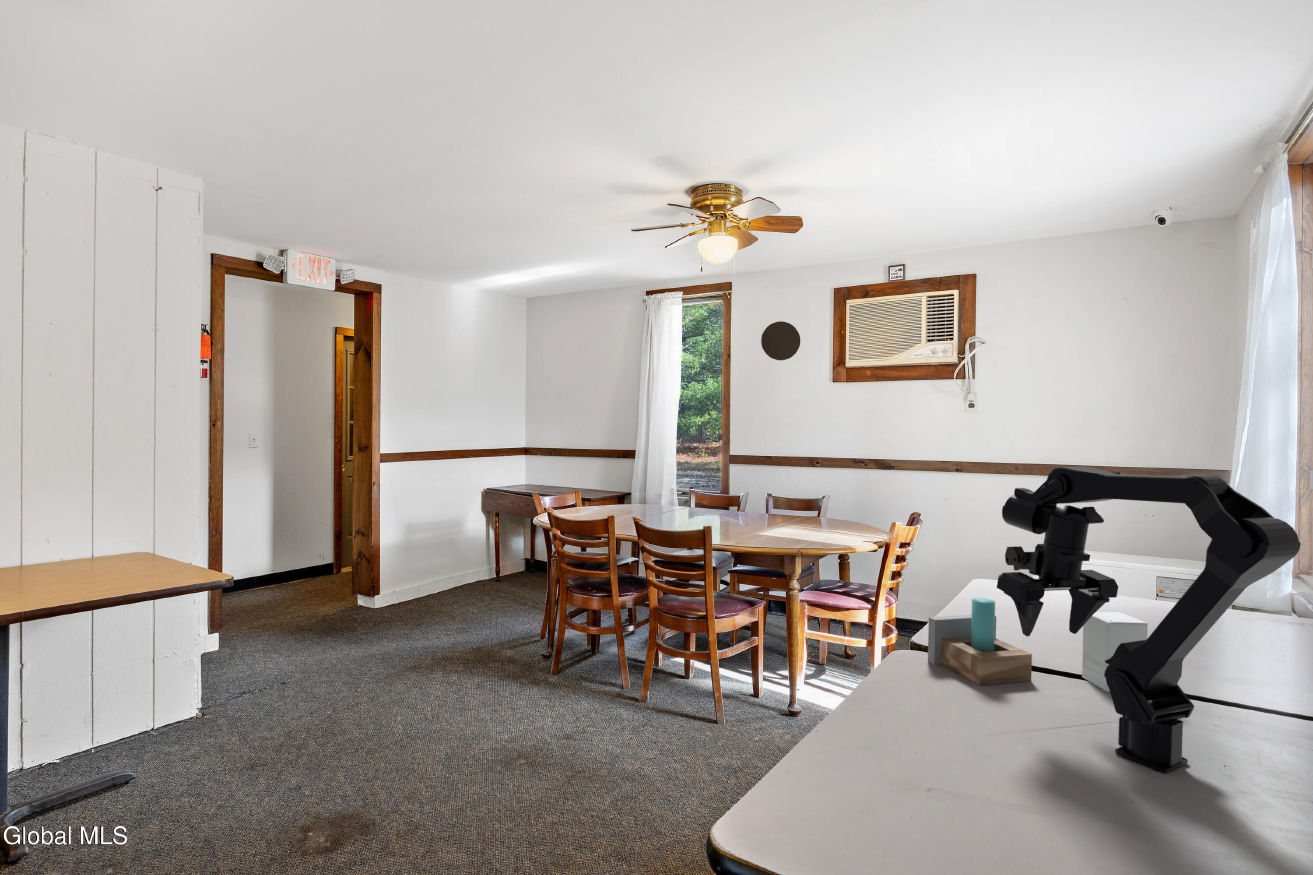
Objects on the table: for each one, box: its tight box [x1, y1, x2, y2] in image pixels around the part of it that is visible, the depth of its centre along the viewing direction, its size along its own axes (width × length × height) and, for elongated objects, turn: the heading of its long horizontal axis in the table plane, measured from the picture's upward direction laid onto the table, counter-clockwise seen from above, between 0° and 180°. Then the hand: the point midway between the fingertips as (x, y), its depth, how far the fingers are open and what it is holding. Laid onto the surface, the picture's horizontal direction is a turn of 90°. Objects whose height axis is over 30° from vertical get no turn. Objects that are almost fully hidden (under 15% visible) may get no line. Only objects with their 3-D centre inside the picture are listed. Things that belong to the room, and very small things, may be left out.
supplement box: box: [1081, 611, 1149, 693], centre depth 124 cm, size 7×7×13 cm
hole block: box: [940, 637, 1033, 686], centre depth 129 cm, size 11×11×5 cm
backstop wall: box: [927, 614, 997, 666], centre depth 135 cm, size 2×14×9 cm, turn 104°
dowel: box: [971, 597, 996, 652], centre depth 129 cm, size 4×4×12 cm
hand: (1049, 634), depth 112 cm, fingers open, 9 cm apart
